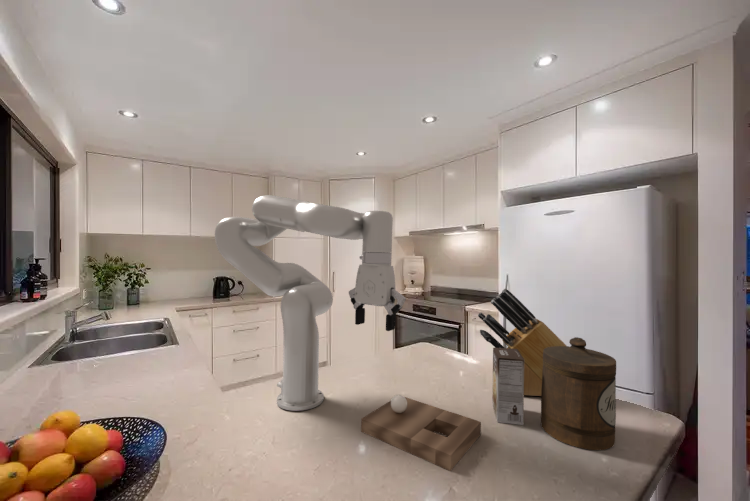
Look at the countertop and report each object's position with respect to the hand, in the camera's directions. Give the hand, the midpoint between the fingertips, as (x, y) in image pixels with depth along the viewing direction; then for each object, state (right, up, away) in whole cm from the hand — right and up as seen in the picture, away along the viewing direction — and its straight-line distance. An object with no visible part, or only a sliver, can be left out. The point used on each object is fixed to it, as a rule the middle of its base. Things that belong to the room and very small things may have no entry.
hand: (374, 326), depth 85 cm
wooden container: (+47, -23, -7) cm, 53 cm away
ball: (+6, -17, -5) cm, 19 cm away
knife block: (+50, -23, +16) cm, 57 cm away
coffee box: (+34, -23, 0) cm, 41 cm away
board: (+11, -22, -9) cm, 26 cm away
